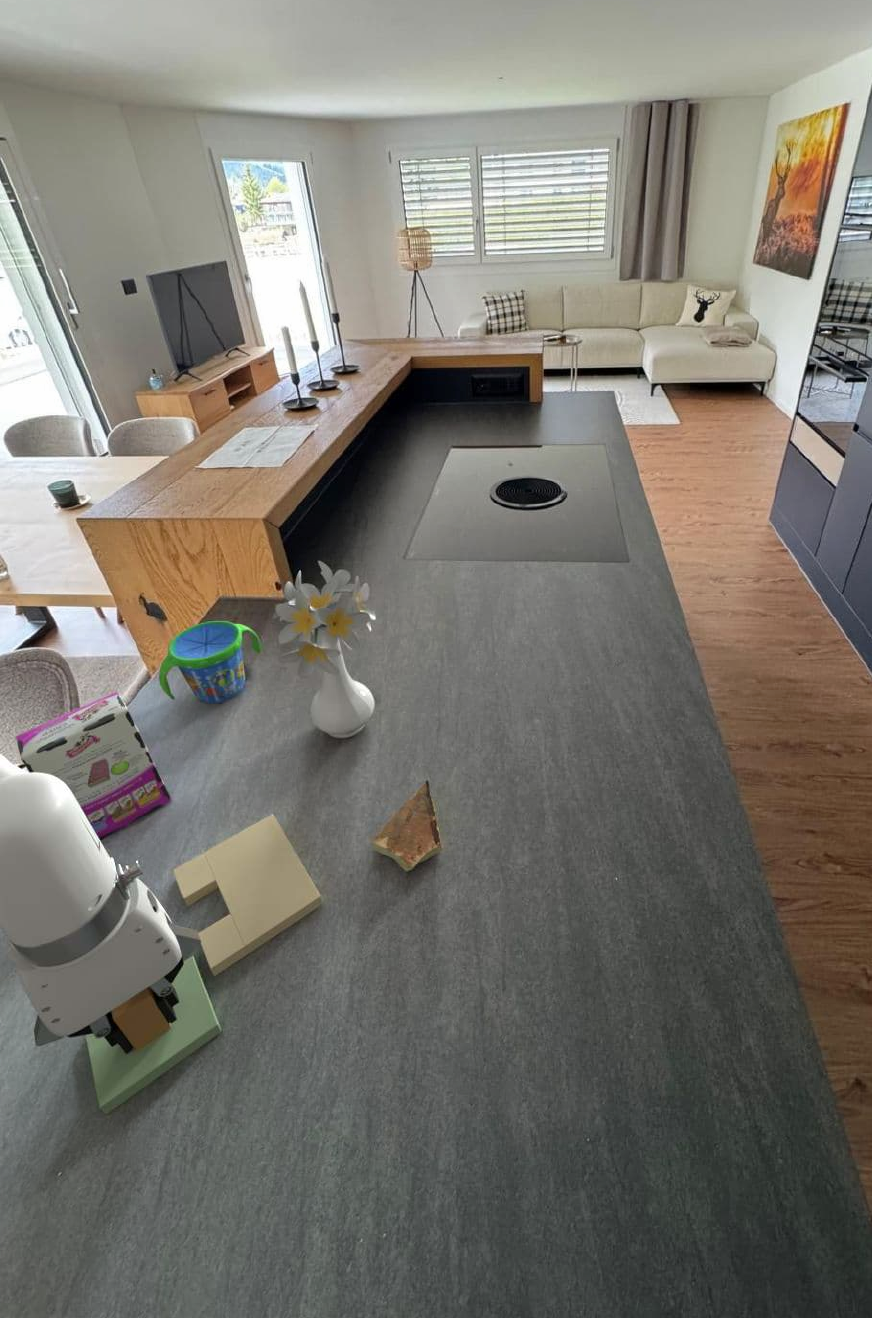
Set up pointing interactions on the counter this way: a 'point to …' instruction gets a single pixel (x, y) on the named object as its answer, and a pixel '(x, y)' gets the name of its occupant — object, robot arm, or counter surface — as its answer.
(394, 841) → the shard
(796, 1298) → the counter surface
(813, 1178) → the counter surface
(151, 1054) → the green pad
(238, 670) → the snack cup
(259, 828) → the cream pad
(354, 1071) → the counter surface
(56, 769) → the candy bar box
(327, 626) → the flower vase
